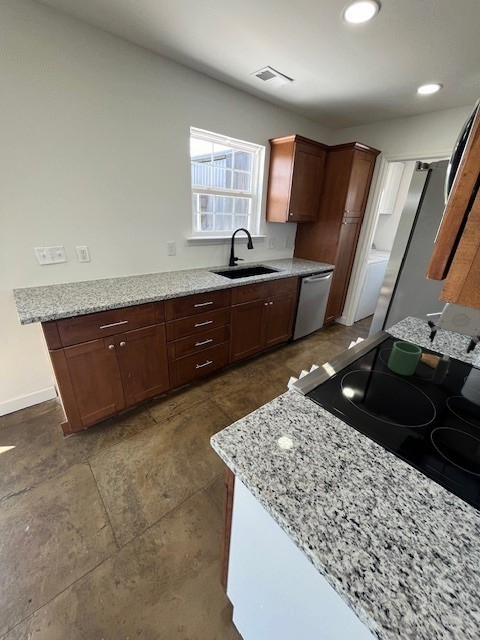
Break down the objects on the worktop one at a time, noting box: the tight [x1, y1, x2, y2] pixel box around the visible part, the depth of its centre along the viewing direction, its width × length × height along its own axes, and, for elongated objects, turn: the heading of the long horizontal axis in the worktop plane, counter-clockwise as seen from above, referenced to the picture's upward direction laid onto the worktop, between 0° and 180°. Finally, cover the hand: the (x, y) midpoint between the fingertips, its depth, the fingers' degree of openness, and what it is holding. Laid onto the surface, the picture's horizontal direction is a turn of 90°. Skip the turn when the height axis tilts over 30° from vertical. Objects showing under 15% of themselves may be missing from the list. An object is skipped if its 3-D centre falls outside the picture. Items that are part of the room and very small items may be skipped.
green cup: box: [387, 341, 422, 376], centre depth 96 cm, size 9×9×9 cm
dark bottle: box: [430, 352, 452, 385], centre depth 89 cm, size 3×3×11 cm
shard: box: [420, 352, 449, 375], centre depth 100 cm, size 11×8×2 cm
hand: (449, 346), depth 85 cm, fingers open, 9 cm apart
